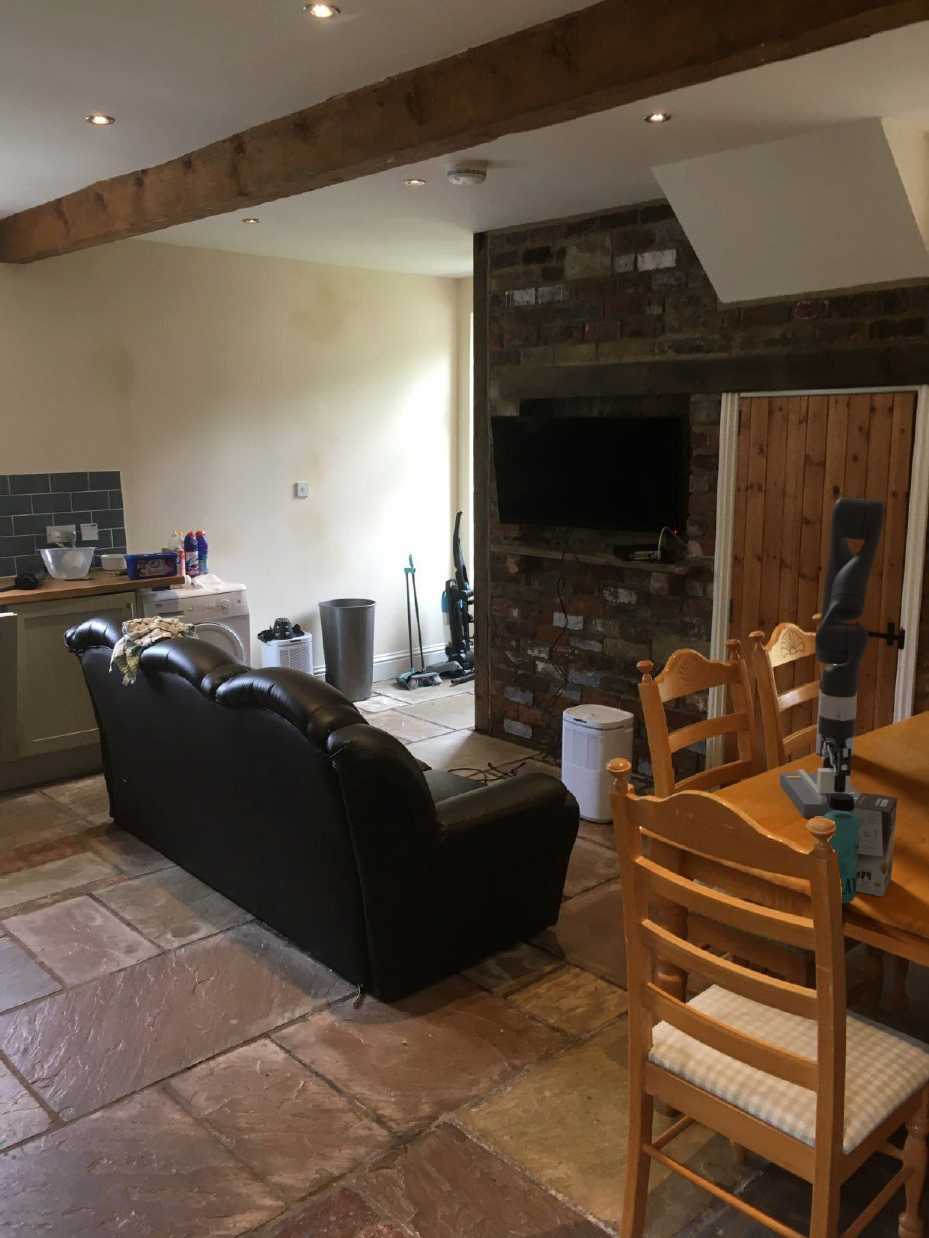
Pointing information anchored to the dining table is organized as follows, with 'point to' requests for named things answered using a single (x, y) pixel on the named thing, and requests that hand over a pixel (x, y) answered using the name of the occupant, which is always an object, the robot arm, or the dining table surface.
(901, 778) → the dining table surface
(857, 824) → the beverage bottle
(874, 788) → the dining table surface
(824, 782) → the fader
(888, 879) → the coffee box
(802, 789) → the console
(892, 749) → the dining table surface
